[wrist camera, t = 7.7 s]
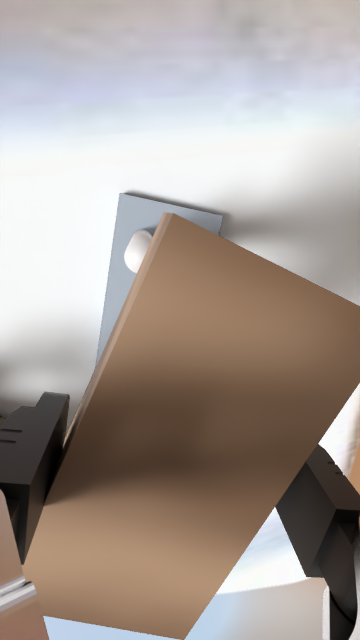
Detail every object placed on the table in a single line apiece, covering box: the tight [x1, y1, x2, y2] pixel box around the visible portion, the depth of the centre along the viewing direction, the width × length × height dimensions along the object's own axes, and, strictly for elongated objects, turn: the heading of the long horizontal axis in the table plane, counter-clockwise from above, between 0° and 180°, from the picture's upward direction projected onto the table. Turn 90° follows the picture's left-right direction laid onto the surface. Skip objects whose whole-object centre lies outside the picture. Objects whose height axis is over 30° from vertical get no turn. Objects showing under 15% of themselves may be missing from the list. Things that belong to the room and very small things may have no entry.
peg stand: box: [95, 193, 223, 368], centre depth 22 cm, size 15×8×11 cm, turn 168°
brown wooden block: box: [21, 212, 360, 640], centre depth 10 cm, size 12×6×4 cm, turn 154°
